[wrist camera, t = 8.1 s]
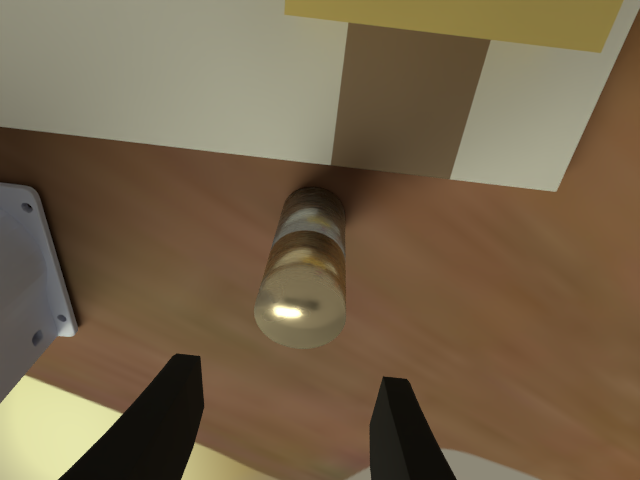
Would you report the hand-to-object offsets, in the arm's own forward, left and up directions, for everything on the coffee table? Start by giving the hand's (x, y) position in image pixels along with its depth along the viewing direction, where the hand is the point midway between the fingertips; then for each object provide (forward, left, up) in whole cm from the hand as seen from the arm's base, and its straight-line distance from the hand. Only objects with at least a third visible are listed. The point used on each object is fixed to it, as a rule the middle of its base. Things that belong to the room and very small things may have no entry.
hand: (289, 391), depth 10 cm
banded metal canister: (0, 0, -10) cm, 10 cm away
